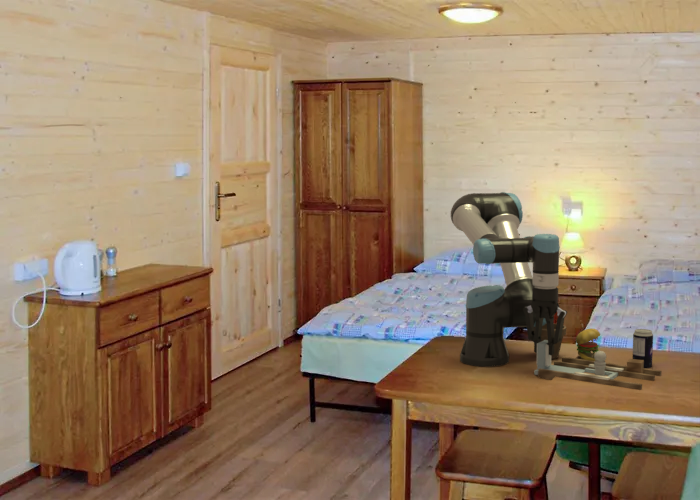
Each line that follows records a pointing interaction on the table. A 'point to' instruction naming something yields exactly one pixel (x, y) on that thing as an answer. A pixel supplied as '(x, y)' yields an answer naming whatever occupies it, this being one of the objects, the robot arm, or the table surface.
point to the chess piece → (600, 363)
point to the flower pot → (545, 337)
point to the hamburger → (587, 344)
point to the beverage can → (643, 346)
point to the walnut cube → (635, 365)
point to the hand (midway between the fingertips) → (543, 364)
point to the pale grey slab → (560, 368)
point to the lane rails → (582, 364)
